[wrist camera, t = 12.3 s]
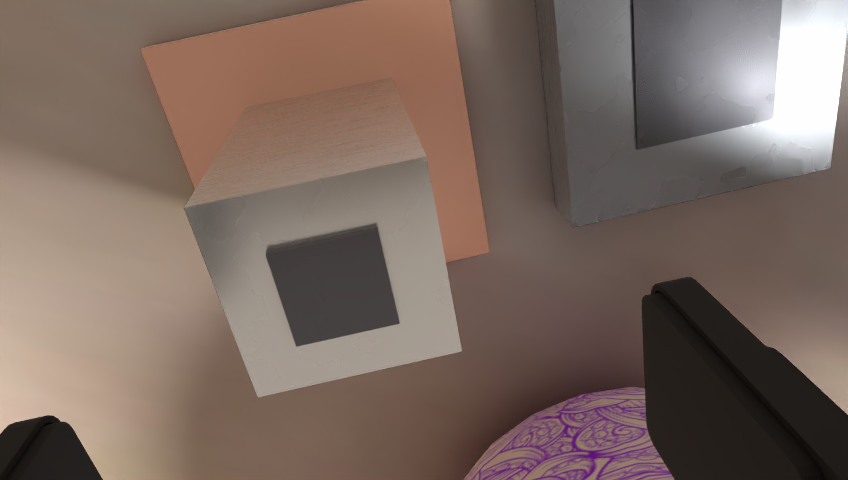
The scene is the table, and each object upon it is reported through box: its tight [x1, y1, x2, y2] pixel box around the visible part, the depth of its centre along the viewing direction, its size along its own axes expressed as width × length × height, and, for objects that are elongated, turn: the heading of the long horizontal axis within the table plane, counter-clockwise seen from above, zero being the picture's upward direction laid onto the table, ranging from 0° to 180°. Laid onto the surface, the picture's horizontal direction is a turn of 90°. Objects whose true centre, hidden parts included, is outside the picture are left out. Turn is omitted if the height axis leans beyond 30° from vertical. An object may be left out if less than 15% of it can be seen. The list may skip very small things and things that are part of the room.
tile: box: [140, 0, 490, 263], centre depth 22 cm, size 10×10×1 cm
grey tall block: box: [184, 77, 462, 397], centre depth 17 cm, size 5×5×9 cm
